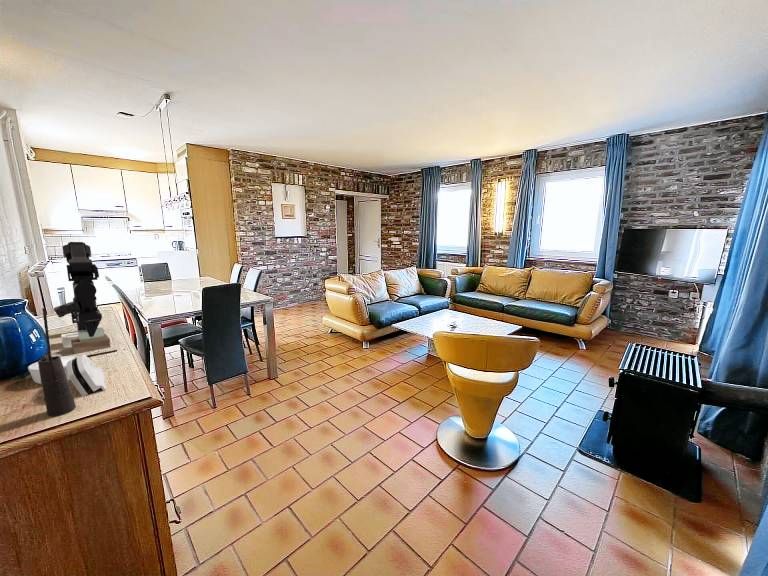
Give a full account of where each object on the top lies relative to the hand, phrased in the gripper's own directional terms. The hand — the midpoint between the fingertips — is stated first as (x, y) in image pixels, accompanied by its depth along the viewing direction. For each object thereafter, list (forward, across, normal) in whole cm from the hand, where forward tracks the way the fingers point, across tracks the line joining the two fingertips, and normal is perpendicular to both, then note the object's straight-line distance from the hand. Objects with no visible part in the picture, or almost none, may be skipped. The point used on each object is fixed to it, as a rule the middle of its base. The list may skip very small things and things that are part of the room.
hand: (89, 334), depth 118 cm
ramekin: (+7, +22, -10) cm, 25 cm away
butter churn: (+7, +48, -12) cm, 50 cm away
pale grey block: (+6, 0, 0) cm, 6 cm away
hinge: (+7, +35, -5) cm, 36 cm away
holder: (+7, -11, -2) cm, 13 cm away
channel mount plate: (+7, 0, 0) cm, 7 cm away
